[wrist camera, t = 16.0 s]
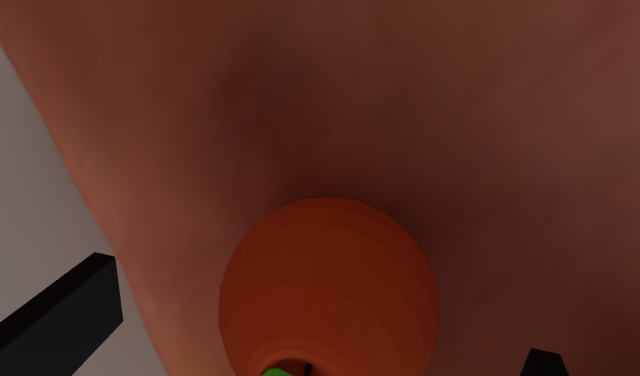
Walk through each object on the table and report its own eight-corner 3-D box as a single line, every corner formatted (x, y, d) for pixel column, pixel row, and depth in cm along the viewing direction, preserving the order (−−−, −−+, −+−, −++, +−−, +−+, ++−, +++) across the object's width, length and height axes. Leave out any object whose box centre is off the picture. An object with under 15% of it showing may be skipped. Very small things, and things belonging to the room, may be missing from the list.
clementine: (327, 352, 19) (280, 528, 12) (216, 248, 18) (103, 381, 11) (475, 261, 15) (513, 440, 9) (347, 127, 14) (289, 221, 8)
